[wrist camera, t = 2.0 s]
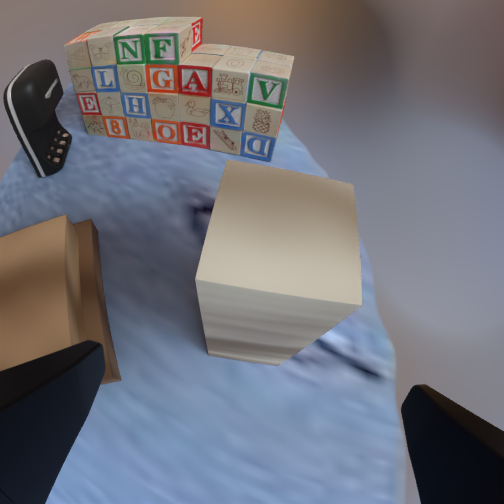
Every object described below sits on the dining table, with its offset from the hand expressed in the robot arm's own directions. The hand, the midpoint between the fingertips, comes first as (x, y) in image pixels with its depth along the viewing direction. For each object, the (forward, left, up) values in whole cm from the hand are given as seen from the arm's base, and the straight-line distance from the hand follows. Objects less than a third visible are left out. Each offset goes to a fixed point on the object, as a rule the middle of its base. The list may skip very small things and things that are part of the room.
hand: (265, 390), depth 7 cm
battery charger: (+14, +26, -11) cm, 32 cm away
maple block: (-1, +16, -9) cm, 18 cm away
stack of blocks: (+22, +15, -11) cm, 29 cm away
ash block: (+5, +1, -11) cm, 12 cm away
